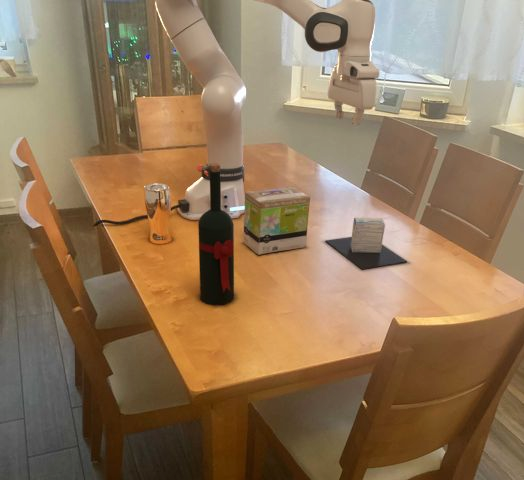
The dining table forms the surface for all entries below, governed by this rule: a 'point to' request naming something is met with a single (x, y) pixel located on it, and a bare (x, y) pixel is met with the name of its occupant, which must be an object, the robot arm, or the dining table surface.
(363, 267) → the felt mat
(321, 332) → the dining table surface
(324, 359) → the dining table surface
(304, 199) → the tea box
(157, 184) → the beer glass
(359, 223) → the medicine box
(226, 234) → the wine bottle
